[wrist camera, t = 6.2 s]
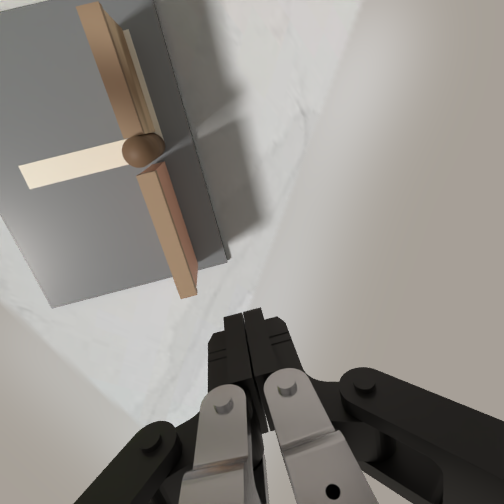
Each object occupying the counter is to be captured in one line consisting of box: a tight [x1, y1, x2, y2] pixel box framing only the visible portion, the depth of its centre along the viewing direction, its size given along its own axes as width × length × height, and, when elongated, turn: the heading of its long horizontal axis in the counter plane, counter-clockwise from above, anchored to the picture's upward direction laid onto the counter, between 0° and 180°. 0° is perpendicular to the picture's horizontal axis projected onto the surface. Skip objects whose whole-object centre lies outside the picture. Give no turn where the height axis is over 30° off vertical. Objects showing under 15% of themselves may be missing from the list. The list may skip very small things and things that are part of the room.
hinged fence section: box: [136, 161, 198, 299], centre depth 25 cm, size 9×1×6 cm, turn 13°
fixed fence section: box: [76, 1, 165, 168], centre depth 21 cm, size 8×2×6 cm, turn 13°
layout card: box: [0, 0, 227, 308], centre depth 25 cm, size 21×16×1 cm
